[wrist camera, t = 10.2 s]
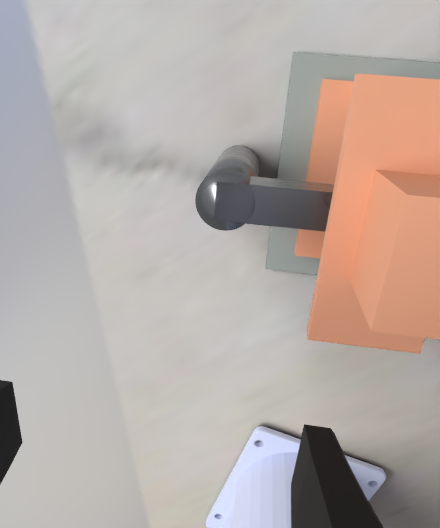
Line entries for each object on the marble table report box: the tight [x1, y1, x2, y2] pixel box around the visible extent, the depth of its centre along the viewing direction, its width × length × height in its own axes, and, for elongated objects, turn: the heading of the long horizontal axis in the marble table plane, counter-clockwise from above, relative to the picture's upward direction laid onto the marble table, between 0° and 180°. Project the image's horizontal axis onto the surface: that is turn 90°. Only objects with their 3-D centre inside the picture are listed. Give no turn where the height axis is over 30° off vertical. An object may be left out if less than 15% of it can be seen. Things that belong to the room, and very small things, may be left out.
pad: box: [266, 52, 440, 275], centre depth 17 cm, size 6×9×1 cm, turn 176°
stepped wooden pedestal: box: [295, 74, 440, 353], centre depth 12 cm, size 3×7×10 cm, turn 176°
